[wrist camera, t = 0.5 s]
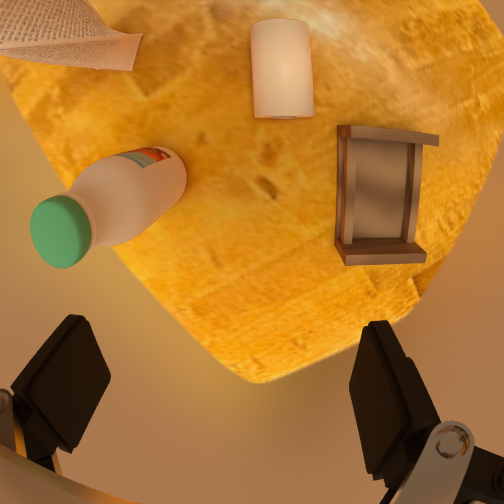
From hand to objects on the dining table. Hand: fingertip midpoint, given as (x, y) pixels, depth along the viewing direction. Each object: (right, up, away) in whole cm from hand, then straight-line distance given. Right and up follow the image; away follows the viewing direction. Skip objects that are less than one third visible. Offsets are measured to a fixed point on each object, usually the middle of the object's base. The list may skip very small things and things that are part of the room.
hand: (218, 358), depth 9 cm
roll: (+4, +23, +19) cm, 30 cm away
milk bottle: (-10, +12, +24) cm, 29 cm away
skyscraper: (-15, +28, +18) cm, 36 cm away
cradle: (+16, +11, +23) cm, 30 cm away
